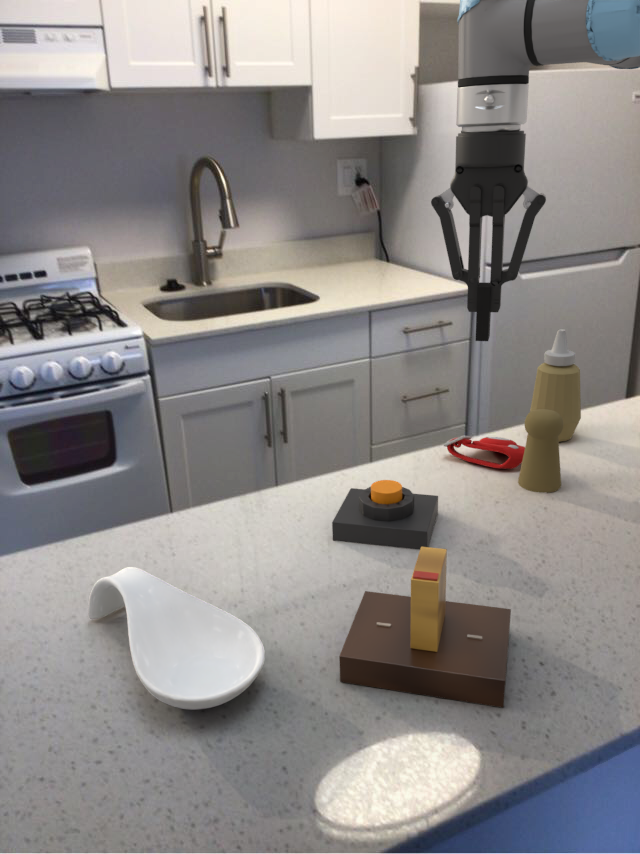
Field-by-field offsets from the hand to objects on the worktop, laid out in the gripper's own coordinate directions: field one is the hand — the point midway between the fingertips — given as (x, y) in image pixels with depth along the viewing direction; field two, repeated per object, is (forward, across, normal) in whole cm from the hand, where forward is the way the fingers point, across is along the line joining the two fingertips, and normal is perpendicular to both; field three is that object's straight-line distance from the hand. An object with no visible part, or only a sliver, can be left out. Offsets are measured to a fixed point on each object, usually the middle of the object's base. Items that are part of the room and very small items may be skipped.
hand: (482, 338), depth 92 cm
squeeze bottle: (+25, +10, +31) cm, 41 cm away
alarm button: (+20, -11, -5) cm, 24 cm away
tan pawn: (+25, +8, +12) cm, 29 cm away
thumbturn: (+21, -2, -30) cm, 37 cm away
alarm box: (+24, -11, -5) cm, 27 cm away
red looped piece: (+25, 0, +20) cm, 32 cm away
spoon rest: (+25, -27, -36) cm, 51 cm away
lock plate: (+24, -2, -30) cm, 39 cm away
